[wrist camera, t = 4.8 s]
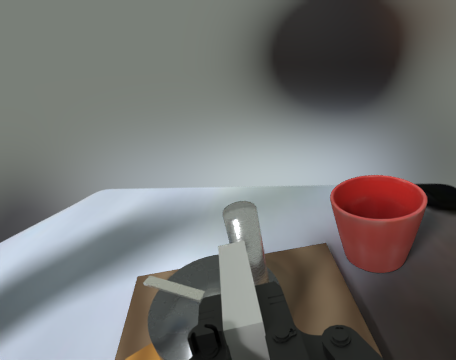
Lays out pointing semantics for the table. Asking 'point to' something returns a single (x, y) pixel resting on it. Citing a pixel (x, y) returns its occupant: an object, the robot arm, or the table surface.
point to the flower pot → (377, 220)
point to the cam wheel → (201, 285)
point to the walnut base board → (292, 289)
